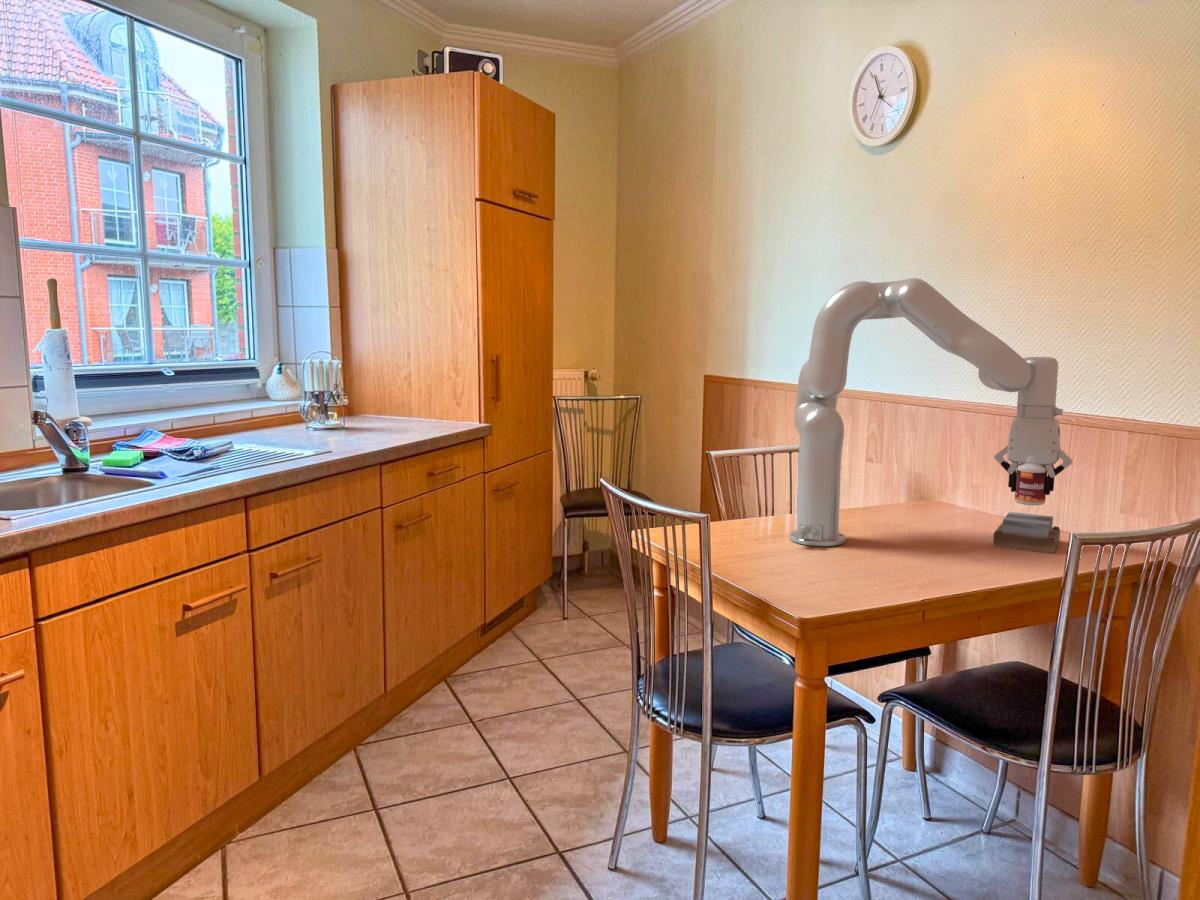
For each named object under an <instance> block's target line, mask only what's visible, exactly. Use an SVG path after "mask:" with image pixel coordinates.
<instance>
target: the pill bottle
mask: <svg viewBox="0 0 1200 900" xmlns="http://www.w3.org/2000/svg"><path fill="white" fill-rule="evenodd" d="M1026 462H1028V463H1019V464H1018V466H1017V468H1016V485H1015V491H1014V502H1015V503H1017V504H1020V505H1025V506H1043V505H1044V504H1045V503H1046V497H1047V495H1046V494H1045V487H1046V477H1047V476H1048V472H1047V469H1046V467H1045V465H1040V464H1037V460H1036V458H1035V457H1033V456H1029V457H1028V458H1027V460H1026Z"/></svg>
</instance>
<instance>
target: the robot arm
mask: <svg viewBox="0 0 1200 900" xmlns="http://www.w3.org/2000/svg"><path fill="white" fill-rule="evenodd" d="M896 318H897V319H899V318H904V319H906V320H907V321H908V322H909V323H911V324H912V325H913V326H914V327H915V328H917V329H918V330H919V331H921V332H922V333H923V334H924V335H925V336H927V338H928V339H930V340H931V341H932V342H933V343H934V344H936V346H937V347H939V348H941V349H943V350H944V351H946V352H948V353H950V354H952V355H955V356H957V357H959V358H961V359H963V360H965V361H966V362H968V363H970V364H971V365H973V366H974V367H975V368H977V369H978V373H977V374H978V379H979V381H980V383H982V385H984V386H985V387H986V388H988V389H991V390H995V391H1001V392H1006V393H1016V392H1017V400H1016V401H1017V403H1016V404H1017V405H1016V417H1013V418H1012V422H1011V424H1010V425H1011V426H1010V429H1009V430H1010V431H1009V434H1008V440H1007V441H1008V443H1007V445H1006V446H1005V447H1004V448H1002V449H1001V450H1000V451H998V452H997V453H996V454H994V457H993V459H995V461H997V462H998V464H1000V466H1001V467H1002V469H1004V470H1005V471H1006V472H1007V474H1008V485H1007V486H1008V487H1007V488H1010V492H1011V493H1015V485H1016V472H1017V466H1018V465H1019V464H1020V463H1028V462H1026V460H1027V458H1028V457H1029V456H1033V457H1035V458H1036V460H1037V464H1040V465H1045V467H1046V469H1047V472H1048V473H1047V477H1046V487H1045V494H1046V496H1050V494H1051V492H1054V490H1055V488H1054V487H1055V477H1056V476H1057V475H1059V474H1060V473H1062V472H1063V471H1064V470H1065V469H1067V468H1068V467H1069V466H1071V465H1072V464H1073V463H1074V462H1073V459H1072V458H1071V457H1070V456H1069V455H1068V454H1067V453H1065V452H1064V450H1062V449H1061V428H1060V427H1061V426H1060V421H1059V419H1056V418H1055V417H1057V416H1062V415H1063V413H1064V409H1063V408H1060V407H1057V405H1056V402H1057V386H1058V377H1059V376H1058V375H1059V362H1058V360H1057V359H1056V358H1054V357H1049V356H1027V357H1022V356H1021V355H1020V354H1019V353H1018V352H1016V351H1015V350H1014V349H1013V348H1012V347H1010V346H1009V345H1008V344H1007V343H1006V342H1004V341H1003V340H1002V339H1000V338H999V337H998V336H996V335H995V334H993V333H992V332H991V331H989V330H987V329H986V328H984V327H983V326H982V325H981V324H979V323H977V322H976V321H975V320H973V319H971V318H970V317H969V316H967V315H966V314H965V313H964V312H963V311H961V310H960V309H959V308H958V307H957V306H955V305H954V304H953V303H952V302H950V300H949V299H948V298H946V297H945V296H944V295H942V293H940V292H939V291H938V290H936V289H935V288H934V286H932V285H931V284H929V283H928V282H927V281H925V280H923V279H921V278H916V277H914V278H913V277H912V278H907V279H901V280H894V281H882V282H870V281H866V280H857V281H854V282H851V283H848V284H845V285H844V286H842V287H841V288H840V289H839V290H838V291H836V292H835V293H834V294H833V295H832V296H831V297H830V298H829V299H828V300H827V301H826V302H825V303H824V305H823V306H822V307H821V309H820V310H819V312H818V313H817V316H816V319H815V321H814V324H813V325H814V326H813V331H812V337H811V342H810V348H809V356H808V360H807V361H806V362H804V364H803V365H802V367H801V369H800V371H799V375H798V382H797V391H796V397H795V398H796V401H795V407H794V408H795V409H794V426H795V429H796V431H797V433H798V434H799V444H798V445H799V446H798V459H797V493H796V494H797V499H796V500H797V502H796V503H797V504H796V529H795V530H792V531H790V533H789V539H790V541H792V542H794V543H796V544H799V545H805V546H813V547H834V546H840V545H842V544H844V543H845V542H846V535H845V534H843V533H842V532H839V528H840V500H841V469H842V468H841V467H842V453H843V445H844V437H845V426H844V421H843V419H842V418H843V417H842V416H841V414H840V413H839V412H838V411H837V402H838V396H839V395H840V394H841V393H842V392H843V390H844V389H845V387H846V384H847V379H848V377H847V376H848V366H849V365H848V364H849V355H850V348H851V341H852V336H853V333H854V331H855V329H856V328H857V326H858V325H859V323H861V322H862V321H863V320H867V321H868V320H882V319H883V320H884V319H896ZM1005 455H1006V457H1007V460H1006V459H1005V458H1004V456H1005ZM1060 459H1061V460H1062V463H1061V464H1059V465H1058V466H1057V467H1055V464H1056V463H1057V462H1058V461H1060ZM1008 461H1010V462H1011V464H1010V463H1009V462H1008Z"/></svg>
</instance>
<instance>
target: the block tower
mask: <svg viewBox="0 0 1200 900" xmlns="http://www.w3.org/2000/svg"><path fill="white" fill-rule="evenodd" d="M1053 523H1054V516H1052V515H1042V514H1041V515H1040V514H1033V513H1025V512H1024V513H1022V512H1016V511H1015V512H1014V511H1009V512H1008V513H1007V515H1005V517H1004V518H1003V520H1002V522H1001V523H1000V525H999V526H998V527H997V528H996V530H995V531H994V532H993V539H992V543H993V544H992V547H997V548H1007V549H1015V550H1022V551H1027V552H1028V551H1029V552H1037V553H1045V554H1050V555H1051V554H1052V555H1054V554H1055V552H1056V550H1057V548H1058V545H1059V543H1060V541H1061V540H1060V538H1061V528H1060V526H1053Z"/></svg>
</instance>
